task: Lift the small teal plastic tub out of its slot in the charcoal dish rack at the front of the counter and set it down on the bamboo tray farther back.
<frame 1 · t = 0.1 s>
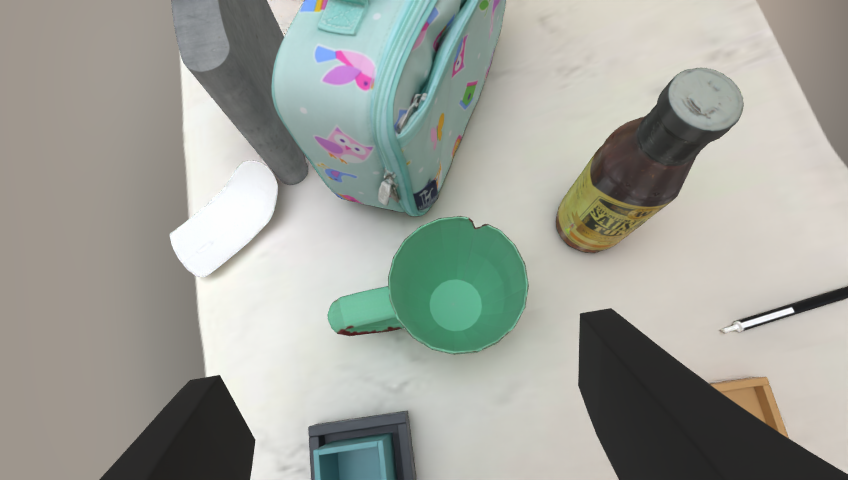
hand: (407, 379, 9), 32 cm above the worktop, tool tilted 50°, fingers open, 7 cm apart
tub: (365, 469, 38), resting on rack
lunch box: (423, 119, 48), on the worktop
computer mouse: (218, 213, 43), point 3 cm above the worktop
sauce bottle: (588, 224, 44), on the worktop
pen: (820, 300, 40), on the worktop
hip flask: (283, 118, 49), on the worktop
mug: (429, 312, 42), on the worktop
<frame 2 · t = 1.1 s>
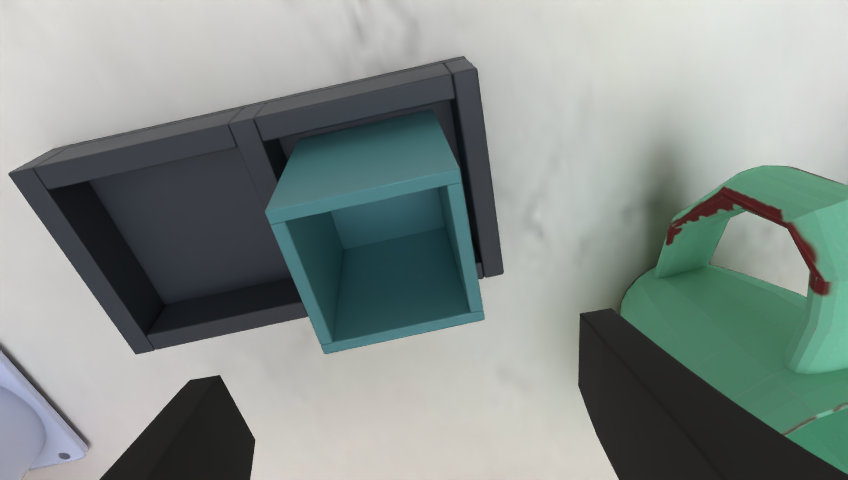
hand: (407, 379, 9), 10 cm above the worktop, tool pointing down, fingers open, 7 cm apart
tub: (381, 185, 18), resting on rack
mug: (663, 259, 22), on the worktop
rack: (294, 201, 18), on the worktop
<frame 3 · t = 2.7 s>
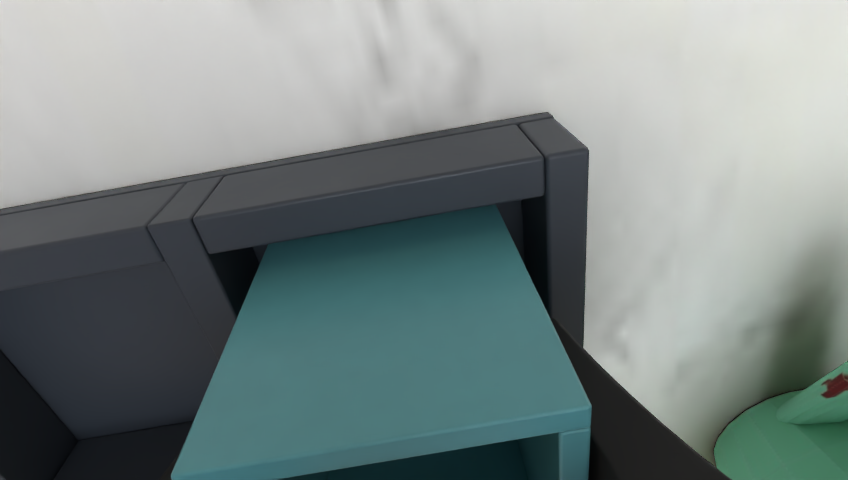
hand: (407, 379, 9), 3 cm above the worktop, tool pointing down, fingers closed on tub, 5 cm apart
tub: (401, 295, 12), resting on rack, touching gripper
mug: (785, 386, 16), on the worktop
rack: (269, 309, 12), on the worktop
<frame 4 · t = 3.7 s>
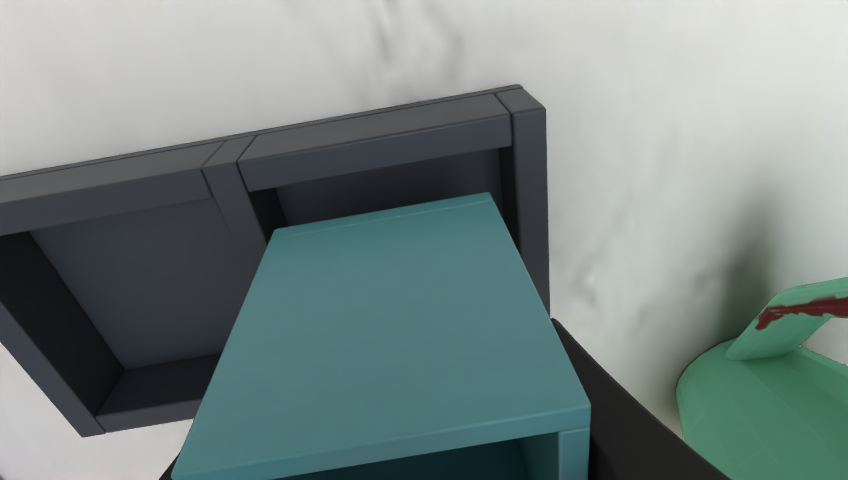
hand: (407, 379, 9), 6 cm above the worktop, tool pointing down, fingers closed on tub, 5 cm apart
tub: (401, 295, 12), point 3 cm above the worktop, touching gripper
mug: (735, 333, 18), on the worktop
rack: (289, 253, 14), on the worktop
when the fingers open (3 cm above the worktop, at t = 8.4 s): tub stays where it is, resting on tray.
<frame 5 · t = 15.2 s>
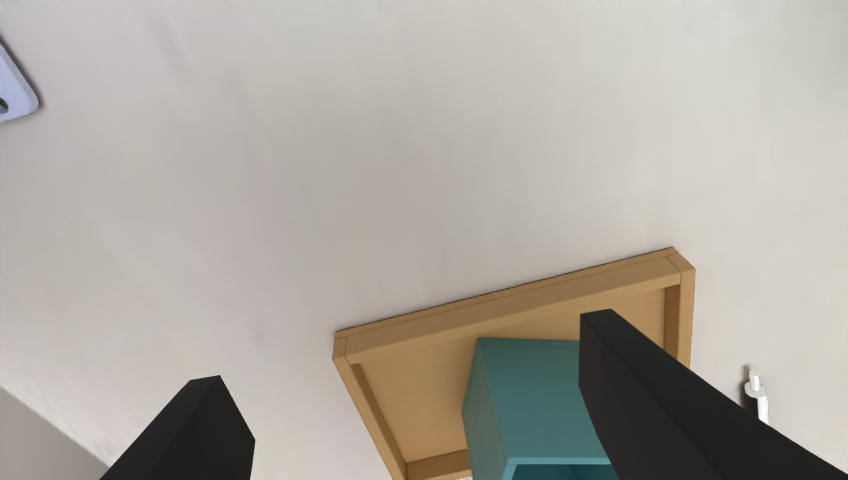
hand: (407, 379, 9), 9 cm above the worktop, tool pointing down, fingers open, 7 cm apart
tub: (519, 377, 22), resting on tray
tray: (517, 369, 23), on the worktop
pen: (752, 462, 29), on the worktop
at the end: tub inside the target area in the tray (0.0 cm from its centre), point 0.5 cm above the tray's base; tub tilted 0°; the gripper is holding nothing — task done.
